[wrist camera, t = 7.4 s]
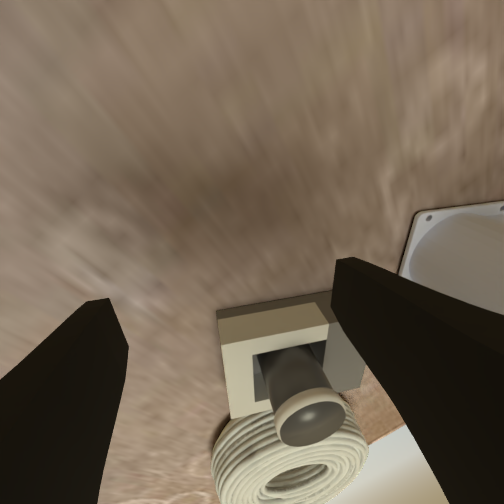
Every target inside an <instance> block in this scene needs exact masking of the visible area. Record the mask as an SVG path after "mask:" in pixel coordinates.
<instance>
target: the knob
mask: <svg viewBox="0 0 504 504" xmlns="http://www.w3.org/2000/svg"><path fill="white" fill-rule="evenodd" d="M256 355H257V359H258V362H259V366H260V369H261V372H262V376H263V379H264V382H265V386H266V389H267V393H268V396H269V399H270V403H271V406H272V410H273V413H274V424H275V428H276V431H277V435H278V438H279V439H280V440H281V441H282V442H283V443H285V444H286V445H288V446H293V447H302V446H308V445H312V444H315V443H318V442H320V441H322V440H324V439H326V438H328V437H329V436H331V435H332V434H334V433H335V432H336V431H337V430H338V429H339V428H340V427H341V426H342V424H343V423H344V421H345V418H346V407H345V405H344V404H343V402H342V400H341V398H340V396H339V394H338V393H337V392H336V391H335V390H333V388H332V386H331V384H330V382H329V380H328V379H327V377H326V375H325V373H324V371H323V369H322V367H321V365H320V364H319V362H318V360H317V358H316V356H315V354H314V352H313V351H312V349H311V347H310V345H309V343H307V344H302V345H298V346H293V347H288V348H283V349H279V350H274V351H269V352H264V353H259V354H256Z"/></svg>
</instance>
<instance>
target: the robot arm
mask: <svg viewBox="0 0 504 504" xmlns="http://www.w3.org/2000/svg"><path fill="white" fill-rule="evenodd" d="M330 307H331V309H332V311H333V313H334V315H335V317H336V319H337V321H338V322H339V324H340V326H341V328H342V330H343V332H344V333H345V335H346V336H347V337H348V339H349V340H350V342H351V343H352V345H353V346H354V348H355V349H356V350H357V352H358V353H359V355H360V356H361V357H362V359H363V360H364V362H365V363H366V364H367V366H368V367H369V369H370V370H371V371H372V373H373V374H374V376H375V377H376V379H377V380H378V381H379V383H380V384H381V386H382V387H383V388H384V390H385V391H386V393H387V394H388V396H389V397H390V399H391V400H392V402H393V403H394V405H395V406H396V408H397V410H398V411H399V413H400V415H401V417H402V418H403V420H404V422H405V423H406V425H407V427H408V429H409V430H410V432H411V434H412V435H413V437H414V439H415V441H416V442H417V444H418V446H419V448H420V450H421V451H422V453H423V455H424V457H425V459H426V460H427V462H428V464H429V466H430V468H431V469H432V471H433V473H434V475H435V477H436V479H437V480H438V482H439V484H440V486H441V488H442V490H443V492H444V494H445V496H446V498H447V500H448V502H449V504H504V201H498V202H491V203H483V204H475V205H467V206H459V207H451V208H444V209H436V210H428V211H421V212H419V213H417V215H416V216H415V218H414V222H413V225H412V229H411V232H410V235H409V239H408V242H407V246H406V249H405V253H404V256H403V260H402V263H401V267H400V270H399V274H398V275H397V274H395V273H392V272H390V271H388V270H385V269H383V268H381V267H378V266H376V265H373V264H371V263H369V262H366V261H363V260H361V259H358V258H355V257H349V258H343V259H337V260H336V267H335V274H334V282H333V289H332V297H331V305H330ZM128 349H129V346H128V343H127V341H126V338H125V336H124V334H123V331H122V329H121V326H120V324H119V321H118V319H117V316H116V314H115V311H114V309H113V306H112V304H111V301H110V299H109V298H105V299H99V300H93V301H87V302H85V303H84V304H83V305H82V306H81V307H79V308H78V309H77V310H76V311H75V312H74V313H73V314H72V315H71V316H69V317H68V318H67V319H66V320H65V321H64V322H63V323H62V324H61V325H60V326H59V327H58V328H57V329H56V330H55V331H53V332H52V333H51V334H50V335H49V336H48V337H47V338H46V339H45V340H44V341H43V342H42V343H41V344H39V345H38V346H37V347H36V348H35V349H34V350H33V351H32V352H31V353H30V354H29V355H28V356H26V357H25V358H24V359H23V360H22V361H21V362H20V363H19V364H18V365H17V366H15V367H14V368H13V369H12V370H11V371H10V372H9V373H7V374H6V375H5V376H4V377H3V378H2V379H0V504H97V502H98V496H99V490H100V485H101V480H102V475H103V470H104V466H105V462H106V458H107V453H108V449H109V445H110V441H111V437H112V433H113V429H114V425H115V421H116V417H117V412H118V408H119V404H120V400H121V396H122V391H123V387H124V383H125V377H126V369H127V360H128Z"/></svg>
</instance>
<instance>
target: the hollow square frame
mask: <svg viewBox="0 0 504 504" xmlns="http://www.w3.org/2000/svg"><path fill="white" fill-rule="evenodd" d="M331 297H332V291H327V292H321V293H316V294H310V295H304V296H299V297H293V298H287V299H281V300H276V301H270V302H264V303H259V304H253V305H247V306H242V307H236V308H230V309H225V310H219V311H216V314H217V322H218V329H219V336H220V344H221V351H222V358H223V366H224V373H225V380H226V387H227V394H228V401H229V408H230V415H231V419H235V418H239V417H243V416H247V415H251V414H255V413H259V412H263V411H267V410H271V409H272V406H271V403H270V399H269V396H268V393H267V389H266V386H265V382H264V379H263V376H262V372H261V369H260V366H259V362H258V359H257V355H256V354H259V353H264V352H269V351H274V350H279V349H283V348H288V347H293V346H298V345H302V344H307V343H309V345H310V347H311V349H312V351H313V352H314V354H315V356H316V358H317V360H318V362H319V364H320V365H321V367H322V369H323V371H324V373H325V375H326V377H327V379H328V380H329V382H330V384H331V386H332V388H333V390H335V391H336V392H337V393H339V392H343V391H347V390H351V389H355V388H359V387H360V384H361V380H362V377H363V373H364V369H365V365H366V363H365V362H364V360H363V359H362V357H361V356H360V355H359V353H358V352H357V350H356V349H355V348H354V346H353V345H352V343H351V342H350V340H349V339H348V337H347V336H346V335H345V333H344V332H343V330H342V328H341V326H340V324H339V322H338V321H337V319H336V317H335V315H334V313H333V311H332V309H331V307H330V305H331Z"/></svg>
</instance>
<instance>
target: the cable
mask: <svg viewBox="0 0 504 504" xmlns="http://www.w3.org/2000/svg"><path fill="white" fill-rule="evenodd" d="M340 398H341V397H340ZM341 400H342V402H343V404H344V405H345V407H346V418H345V421H344V423H343V424H342V426H341V427H340V428H339V429H338V430H337V431H336V432H335V433H334V434H332V435H331V436H329V437H328V438H326V439H324V440H322V441H320V442H318V443H315V444H312V445H308V446H302V447H293V446H288V445H286V444H285V443H283V442H282V441H281V440H280V439H279V438H278V435H277V431H276V428H275V424H274V413H273V410H272V409H271V410H267V411H263V412H259V413H255V414H251V415H247V416H243V417H239V418H235V419H232V420H231V421H230V422H229V423H228V424H227V425H226V426H225V428H224V429H223V431H222V432H221V434H220V436H219V438H218V440H217V441H216V443H215V445H214V448H213V451H212V456H211V474H212V477H213V479H214V482H215V488H216V492H217V495H218V497H219V500H220V502H221V504H324V503H326V502H328V501H329V500H331V499H332V498H334V497H335V496H336V495H338V494H339V493H340V492H341V491H342V490H343V489H345V488H346V487H347V486H348V485H349V484H350V483H351V482H352V481H353V480H354V479H355V478H356V476H357V475H358V474H359V472H360V471H361V469H362V467H363V465H364V463H365V461H366V459H367V457H368V452H369V447H368V444H367V442H366V441H365V438H364V436H363V434H362V432H361V430H360V427H359V425H358V423H357V421H356V419H355V415H354V413H353V411H352V410H351V407H350V406H349V404H348V403H347V402H345V401H344V400H343V399H342V398H341Z"/></svg>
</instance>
